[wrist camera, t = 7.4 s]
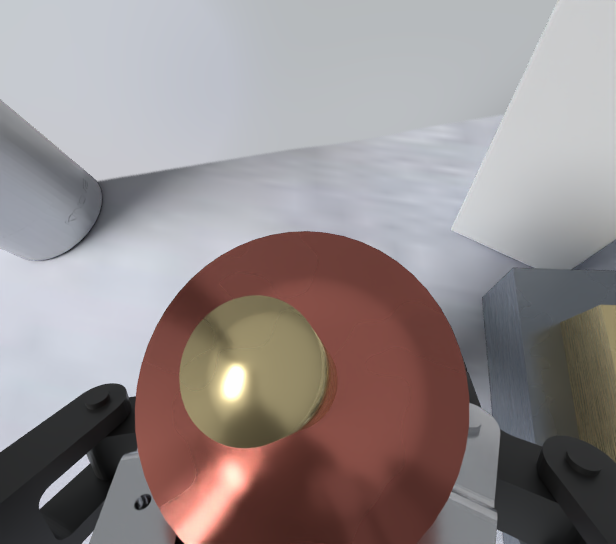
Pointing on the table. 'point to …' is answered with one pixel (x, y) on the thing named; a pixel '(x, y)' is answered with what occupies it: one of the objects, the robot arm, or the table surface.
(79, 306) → the table surface
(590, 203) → the milk carton
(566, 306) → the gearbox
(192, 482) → the red bottle
